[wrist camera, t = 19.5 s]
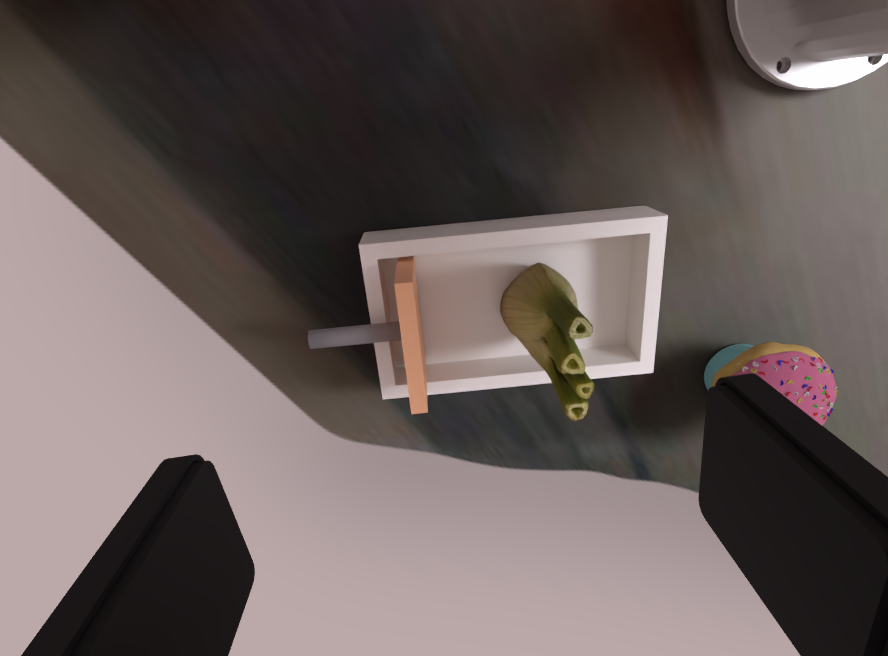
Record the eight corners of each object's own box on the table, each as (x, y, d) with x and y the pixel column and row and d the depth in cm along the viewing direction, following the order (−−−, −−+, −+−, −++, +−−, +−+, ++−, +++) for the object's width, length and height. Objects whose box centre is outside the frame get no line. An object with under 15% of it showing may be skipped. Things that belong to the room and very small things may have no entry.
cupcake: (740, 429, 42) (855, 543, 31) (657, 393, 40) (747, 501, 29) (810, 343, 39) (964, 436, 28) (723, 301, 37) (851, 382, 26)
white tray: (644, 205, 34) (667, 215, 31) (633, 350, 38) (653, 372, 35) (364, 232, 34) (358, 245, 31) (385, 375, 38) (382, 399, 35)
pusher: (413, 250, 33) (412, 282, 27) (426, 362, 37) (427, 412, 31) (308, 260, 33) (283, 294, 27) (330, 371, 37) (313, 423, 31)
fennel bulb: (519, 245, 34) (568, 310, 23) (583, 271, 35) (659, 346, 24) (484, 319, 36) (513, 412, 25) (545, 342, 37) (598, 441, 26)
